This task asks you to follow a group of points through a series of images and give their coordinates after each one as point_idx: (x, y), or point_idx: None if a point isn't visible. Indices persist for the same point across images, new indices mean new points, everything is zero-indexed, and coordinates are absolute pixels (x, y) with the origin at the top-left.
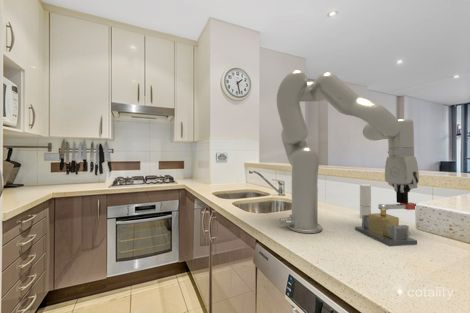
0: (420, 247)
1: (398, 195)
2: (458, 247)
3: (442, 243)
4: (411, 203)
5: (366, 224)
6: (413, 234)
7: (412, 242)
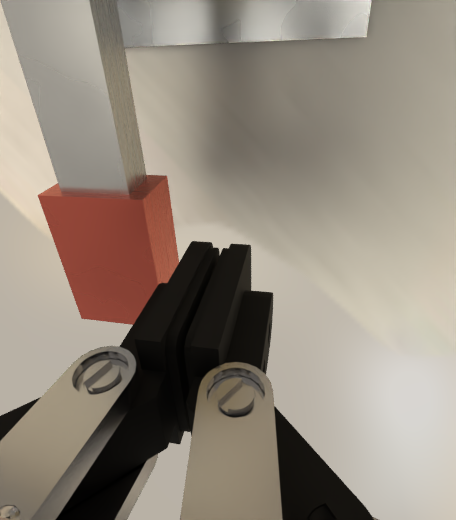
0: None
1: (200, 308)
2: None
3: None
4: (112, 289)
5: None
6: (216, 192)
7: None
